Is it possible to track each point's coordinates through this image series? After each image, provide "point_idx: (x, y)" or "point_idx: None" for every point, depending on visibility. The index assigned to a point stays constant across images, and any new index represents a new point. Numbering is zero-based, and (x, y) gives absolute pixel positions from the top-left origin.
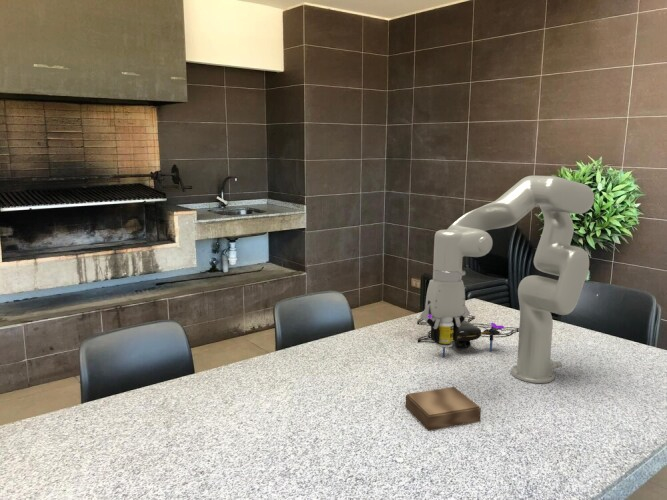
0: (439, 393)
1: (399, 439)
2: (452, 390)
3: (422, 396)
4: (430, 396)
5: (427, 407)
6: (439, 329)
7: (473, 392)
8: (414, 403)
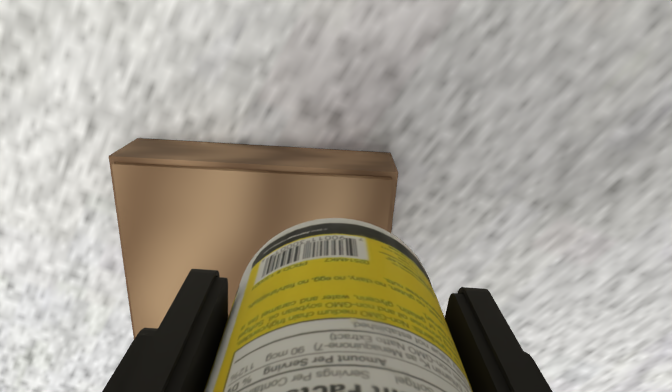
0: (276, 216)
1: (38, 329)
2: (358, 212)
3: (178, 215)
4: (217, 228)
5: (157, 306)
6: None
7: (527, 122)
8: (121, 245)
